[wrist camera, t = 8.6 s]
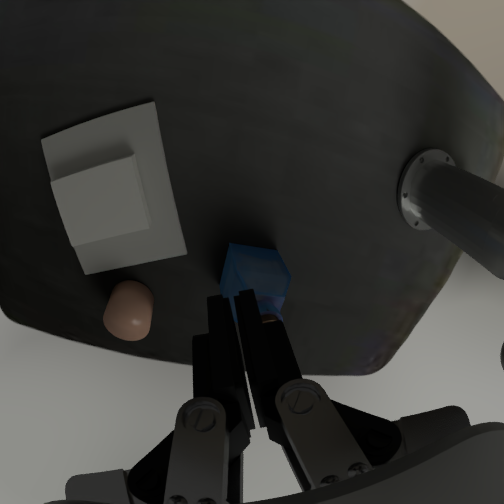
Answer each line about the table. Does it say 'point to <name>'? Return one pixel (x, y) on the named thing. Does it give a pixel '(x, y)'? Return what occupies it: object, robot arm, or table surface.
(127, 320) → the brown rounded cylinder
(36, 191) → the table surface
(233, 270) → the perfume bottle
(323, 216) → the table surface
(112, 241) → the mat
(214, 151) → the table surface
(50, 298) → the table surface
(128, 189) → the tile
